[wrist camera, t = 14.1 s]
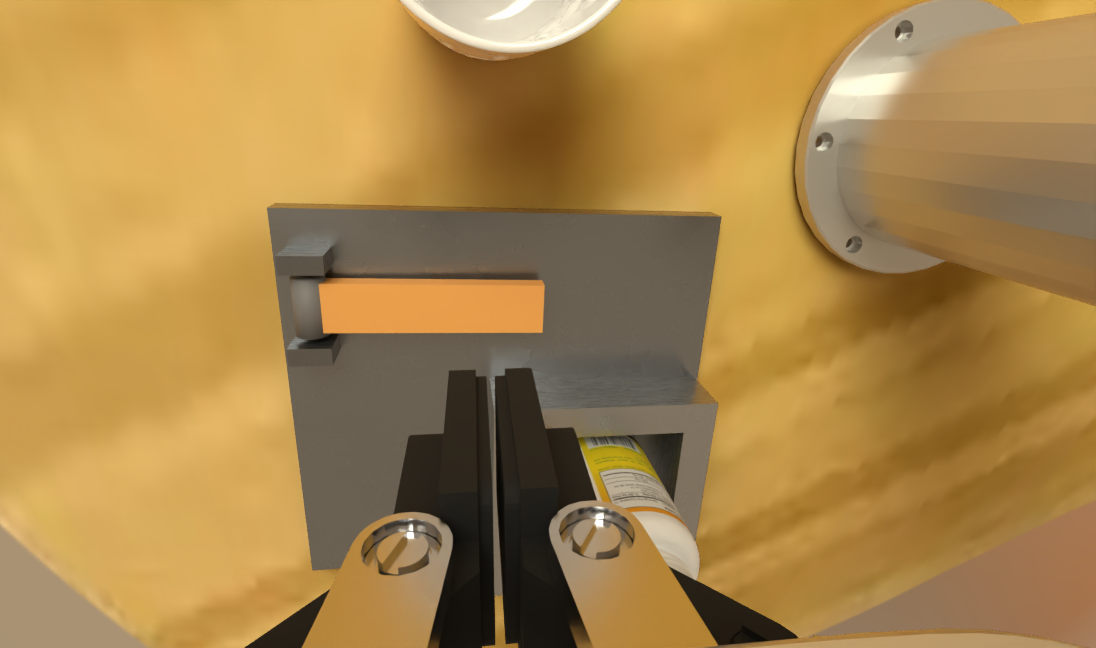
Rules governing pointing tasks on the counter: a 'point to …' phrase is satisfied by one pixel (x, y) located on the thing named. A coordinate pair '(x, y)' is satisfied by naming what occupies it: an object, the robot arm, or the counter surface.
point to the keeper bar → (415, 306)
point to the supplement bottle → (640, 496)
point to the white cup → (506, 24)
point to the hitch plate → (497, 344)
